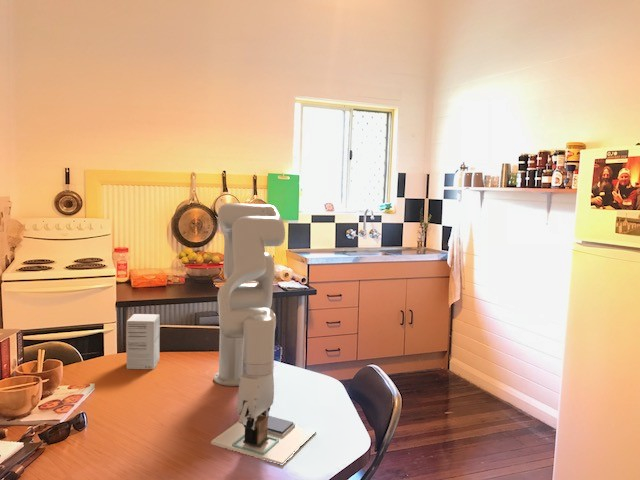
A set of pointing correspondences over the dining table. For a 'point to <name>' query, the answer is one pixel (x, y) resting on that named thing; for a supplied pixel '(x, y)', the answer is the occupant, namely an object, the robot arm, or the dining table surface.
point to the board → (273, 448)
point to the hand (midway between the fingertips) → (255, 438)
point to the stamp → (260, 430)
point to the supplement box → (143, 341)
